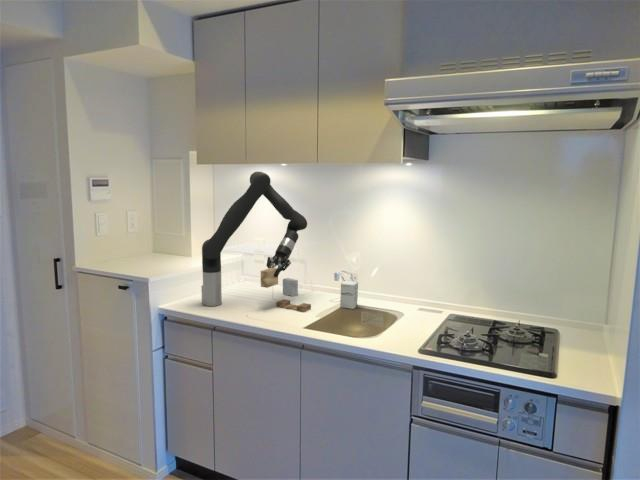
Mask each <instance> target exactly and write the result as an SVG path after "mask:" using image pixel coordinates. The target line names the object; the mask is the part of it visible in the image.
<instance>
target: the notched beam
mask: <svg viewBox="0 0 640 480" xmlns="http://www.w3.org/2000/svg"><path fill="white" fill-rule="evenodd" d="M275 305H276V307H278V308H282V309H287V310H293V311H297V312H301V313H305V312H308V311H310V310H311V309H312V304H311V303H307V302H306V303H304V302H302V303H299V304H292V303H291V300H290V299H285V298H283V299H280V300H277V301H276V303H275Z"/></svg>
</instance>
